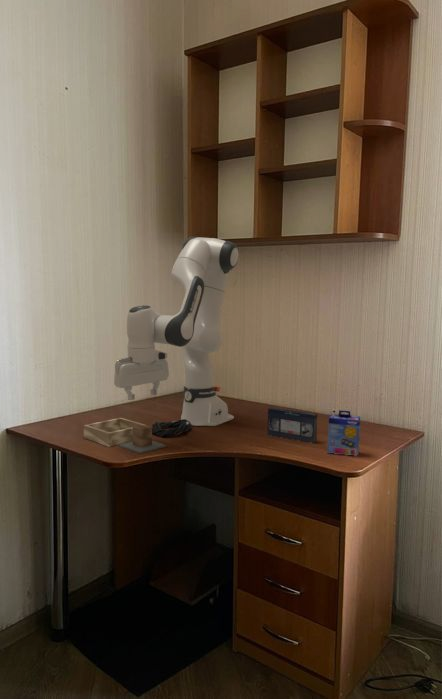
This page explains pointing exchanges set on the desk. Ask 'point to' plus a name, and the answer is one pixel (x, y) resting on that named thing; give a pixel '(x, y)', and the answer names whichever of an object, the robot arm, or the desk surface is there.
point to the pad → (144, 449)
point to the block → (142, 436)
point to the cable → (180, 427)
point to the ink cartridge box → (343, 434)
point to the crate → (111, 431)
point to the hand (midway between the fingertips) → (142, 397)
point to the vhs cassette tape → (292, 424)
